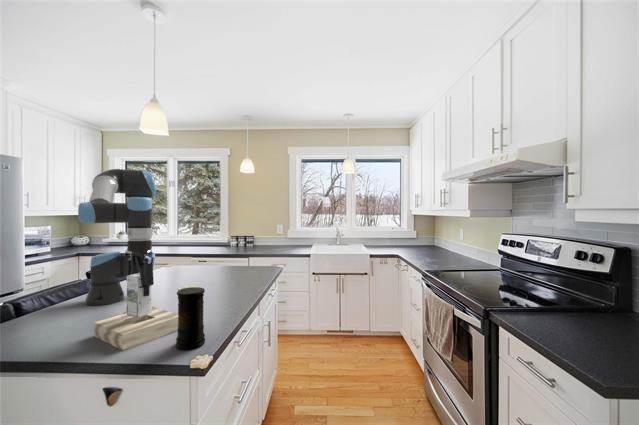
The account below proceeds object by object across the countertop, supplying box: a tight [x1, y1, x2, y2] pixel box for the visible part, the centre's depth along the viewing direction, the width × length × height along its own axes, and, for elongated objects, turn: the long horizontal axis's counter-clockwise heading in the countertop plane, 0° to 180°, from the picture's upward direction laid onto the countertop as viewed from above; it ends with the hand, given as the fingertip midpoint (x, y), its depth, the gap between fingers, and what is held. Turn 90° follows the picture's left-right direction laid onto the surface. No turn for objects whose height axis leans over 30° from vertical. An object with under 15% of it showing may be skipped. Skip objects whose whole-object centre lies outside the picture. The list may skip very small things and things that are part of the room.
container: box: [175, 287, 206, 351], centre depth 96 cm, size 9×9×18 cm
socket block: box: [93, 306, 178, 351], centre depth 105 cm, size 20×20×5 cm
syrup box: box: [126, 273, 153, 317], centre depth 105 cm, size 6×6×14 cm
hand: (139, 303), depth 105 cm, fingers closed on syrup box, 6 cm apart
